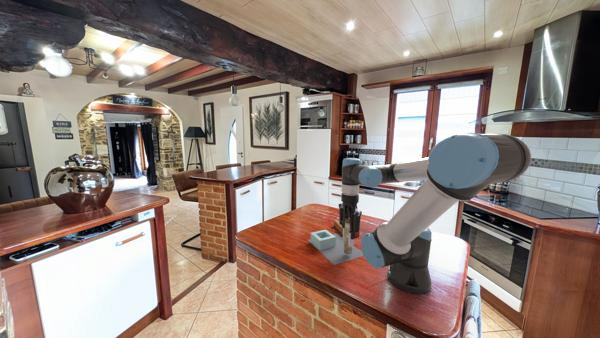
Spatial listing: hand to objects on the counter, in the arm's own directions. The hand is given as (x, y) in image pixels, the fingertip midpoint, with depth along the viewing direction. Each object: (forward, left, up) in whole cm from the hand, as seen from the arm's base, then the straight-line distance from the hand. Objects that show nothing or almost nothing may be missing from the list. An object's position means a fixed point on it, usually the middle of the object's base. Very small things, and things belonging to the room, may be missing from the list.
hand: (348, 243), depth 101 cm
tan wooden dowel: (0, 0, -4) cm, 4 cm away
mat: (+9, +1, -7) cm, 11 cm away
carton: (+21, -15, -7) cm, 26 cm away
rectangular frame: (+14, +5, -6) cm, 16 cm away
